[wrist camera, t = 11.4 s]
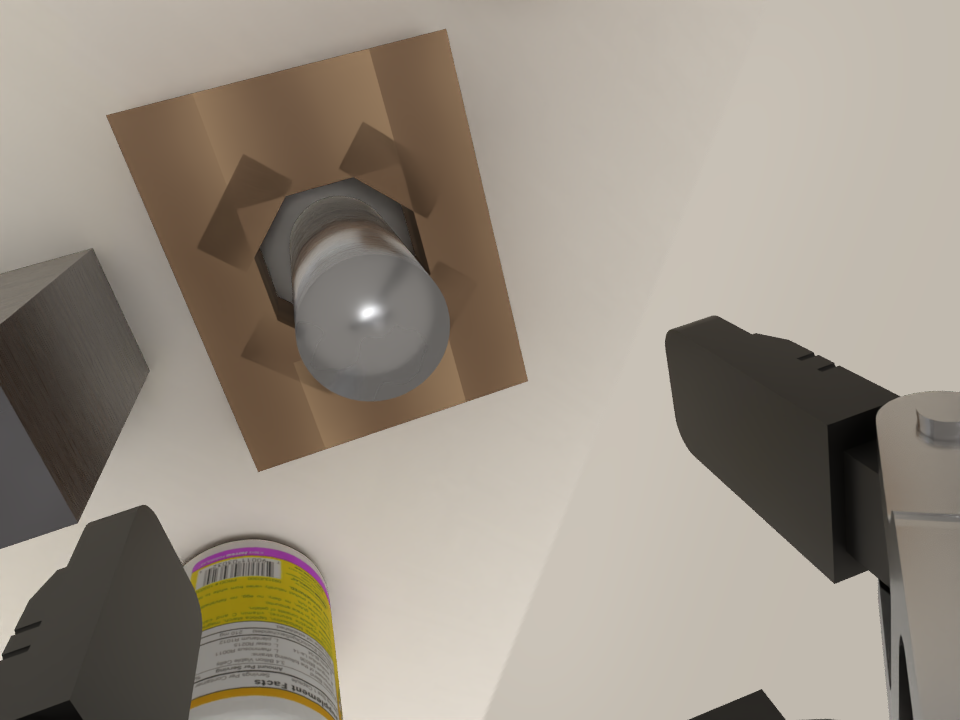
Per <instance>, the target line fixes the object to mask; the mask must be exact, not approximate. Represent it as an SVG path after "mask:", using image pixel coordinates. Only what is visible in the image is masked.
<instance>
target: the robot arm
mask: <svg viewBox="0 0 960 720" xmlns="http://www.w3.org/2000/svg"><path fill="white" fill-rule="evenodd" d="M665 347H666V355H667V362H668V369H669V376H670V383H671V390H672V397H673V404H674V411H675V417H676V422H677V426H678V429H679V432H680V434H681V437H682V439H683V441H684V443H685V444H686V446H687V448H688V449H689V451H690V452H691V453H692V454H693V455H694V456H695V457H696V458H697V459H698V460H699V461H700V462H702V464H704V465H705V466H706V467H707V468H708V469H709V470H710V471H711V472H712V473H713V474H714V475H716V476H717V477H718V478H719V479H720V480H721V481H722V482H723V483H724V484H725V485H727V486H728V487H729V488H730V489H731V490H732V491H733V492H734V493H735V494H736V495H738V496H739V497H740V498H741V499H742V500H743V501H744V502H745V503H746V504H747V505H748V506H750V507H751V508H752V509H753V510H754V511H755V512H756V513H757V514H758V515H759V516H761V517H762V518H763V519H764V520H765V521H766V522H767V523H768V524H769V525H770V526H772V527H773V528H774V529H775V530H776V531H777V532H778V533H779V534H780V535H781V536H783V537H784V538H785V539H786V540H787V541H788V542H789V543H790V544H791V545H792V546H794V547H795V548H796V549H797V550H798V551H799V552H800V553H801V554H802V555H804V557H806V558H807V559H808V560H809V561H810V562H811V563H812V564H813V565H814V566H815V567H817V568H818V569H819V570H820V571H821V572H822V573H823V574H824V575H825V576H827V577H828V578H829V579H830V580H831V581H832V582H833V583H834V584H835V583H838V582H840V581H843V580H845V579H848V578H850V577H853V576H855V575H858V574H860V573H863V572H865V571H868V570H869V571H870V572H871V573H872V574H874V575H875V576H876V577H877V578H878V603H879V613H880V624H881V634H882V645H883V655H884V666H885V676H886V687H887V697H888V708H889V718H890V720H960V392H953V391H952V392H951V391H928V392H919V393H913V394H909V395H904V396H901V397H900V396H898V395H896V394H894V393H892V392H890V391H889V390H887V389H884V388H883V387H881V386H878V385H877V384H875V383H873V382H871V381H869V380H867V379H865V378H863V377H861V376H859V375H857V374H855V373H853V372H851V371H849V370H847V369H845V368H843V367H841V366H837V367H836V366H835V365H834V363H833V362H831V361H829V360H827V359H825V358H823V357H821V356H819V355H817V356H815V355H814V353H813V352H812V351H809V350H808V349H806V348H804V347H802V346H800V345H798V344H796V343H794V342H792V341H790V340H786V339H781V338H776V337H772V336H767V335H762V334H757V333H756V334H750V333H748V332H746V331H745V330H743V329H741V328H739V327H737V326H735V325H733V324H731V323H730V322H728V321H726V320H724V319H722V318H720V317H718V316H710V317H707V318H704V319H701V320H698V321H695V322H692V323H690V324H686V325H683V326H680V327H677V328H674V329H671V330H669V331H668V332H667V334H666V339H665ZM14 631H15V635H13V636H11V638H10V640H9V642H8V644H7V646H6V648H5V650H4V652H3V654H2V657H3V660H2V661H0V720H188V719H189V712H190V706H191V700H192V693H193V687H194V681H195V674H196V668H197V662H198V655H199V649H200V643H201V636H202V614H201V609H200V604H199V601H198V597H197V594H196V592H195V589H194V587H193V585H192V583H191V581H190V579H189V577H188V576H187V574H186V572H185V570H184V568H183V566H182V564H181V562H180V560H179V558H178V556H177V554H176V552H175V550H174V549H173V547H172V545H171V543H170V541H169V539H168V537H167V535H166V533H165V531H164V529H163V527H162V525H161V523H160V522H159V520H158V518H157V516H156V515H155V513H154V512H153V511H152V510H151V509H150V508H149V507H148V506H146V505H141V506H138V507H135V508H132V509H129V510H126V511H123V512H120V513H117V514H114V515H111V516H108V517H105V518H102V519H99V520H96V521H93V522H90V523H88V524H87V525H86V527H85V528H84V531H83V533H82V535H81V537H80V539H79V541H78V544H77V546H76V548H75V550H74V552H73V555H72V557H71V559H70V561H69V563H68V565H67V567H65V568H62V569H59V570H57V571H56V572H55V573H54V574H53V575H52V577H51V578H50V579H49V580H48V581H47V582H46V583H45V584H44V585H43V586H42V587H41V588H40V589H39V591H38V592H37V593H36V594H35V595H34V596H33V597H32V598H31V599H30V600H29V602H28V604H27V606H26V608H25V610H24V612H23V614H22V616H21V618H20V620H19V622H18V624H17V626H16V628H15V630H14ZM689 720H785V718H784V717H783V716H782V714H781V713H780V712H779V711H778V710H777V708H776V707H775V706H774V704H773V703H772V702H771V701H770V699H769V698H768V697H767V696H766V694H765V693H764V692H763V690H762V689H761V690H759V691H756V692H754V693H752V694H749V695H747V696H744V697H742V698H740V699H737V700H735V701H733V702H730V703H728V704H725V705H723V706H721V707H718V708H716V709H713V710H711V711H709V712H706V713H704V714H701V715H699V716H696V717H694V718H692V719H689ZM812 720H831V719H812Z"/></svg>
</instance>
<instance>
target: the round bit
mask: <svg viewBox="0 0 960 720" xmlns="http://www.w3.org/2000/svg"><path fill="white" fill-rule="evenodd" d="M290 260H291V275H292V290H293V306H294V321H295V335H296V342H297V347H298V351H299V354H300V356H301V358H302V361H303V363H304V365H305V366H306V368H307V369H308V371H309V372H310V373H311V375H312V376H313V377H314V378H315V379H316V380H317V381H318V382H319V383H320V384H321V385H323V386H324V387H326V388H327V389H329V390H330V391H332V392H334V393H336V394H338V395H340V396H343V397H346V398H349V399H353V400H357V401H382V400H388V399H392V398H396V397H398V396H401V395H403V394H406V393H407V392H409V391H411V390H413V389H415V388H416V387H417V386H419V385H420V384H422V383H423V382H424V381H425V380H426V379H427V378H428V377H429V376H430V375H431V374H432V373H433V371H434V370H435V369H436V367H437V366H438V364H439V363H440V361H441V359H442V357H443V355H444V353H445V350H446V347H447V344H448V340H449V334H450V317H449V312H448V307H447V304H446V301H445V298H444V296H443V295H442V293H441V291H440V289H439V288H438V286H437V285H436V283H435V282H434V281H433V279H432V278H431V277H430V276H429V275H428V273H427V272H426V271H425V270H424V268H423V267H422V266H421V265H420V264H419V262H418V261H417V260H416V259H415V257H414V256H413V255H412V254H411V253H410V251H409V250H408V249H407V248H406V246H405V245H404V244H403V243H402V242H401V240H400V239H399V238H398V237H397V235H396V234H395V233H394V232H393V231H392V229H391V228H390V227H389V226H388V224H387V223H386V222H385V221H384V220H383V218H382V217H381V216H380V215H379V214H378V213H377V211H376V210H374V209H373V208H372V207H371V206H369V205H368V204H366V203H365V202H363V201H361V200H358V199H355V198H352V197H346V196H333V197H328V198H324V199H321V200H319V201H317V202H315V203H313V204H311V205H310V206H309V207H307V208H306V209H305V210H304V211H303V212H302V213H301V214H300V216H299V217H298V219H297V220H296V222H295V224H294V226H293V228H292V232H291V236H290Z"/></svg>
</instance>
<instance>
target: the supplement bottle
mask: <svg viewBox="0 0 960 720" xmlns="http://www.w3.org/2000/svg"><path fill="white" fill-rule="evenodd" d="M183 568H184V570H185V572H186V574H187V576H188V577H189V579H190V581H191V583H192V585H193V587H194V589H195V592H196V594H197V597H198V601H199V604H200V609H201V614H202V636H201V643H200V649H199V655H198V662H197V668H196V674H195V681H194V687H193V693H192V700H191V706H190V712H189V719H188V720H343V715H342V706H341V698H340V689H339V679H338V671H337V661H336V651H335V643H334V634H333V626H332V616H331V608H330V601H329V594H328V589H327V586H326V583H325V581H324V579H323V577H322V575H321V573H320V571H319V570H318V569H317V567H316V566H315V565H314V564H313V562H312V561H311V560H309V559H308V558H307V557H306V556H305V555H303V554H301V553H300V552H298V551H296V550H295V549H292V548H290V547H288V546H285V545H283V544H280V543H276V542H272V541H267V540H239V541H233V542H228V543H224V544H221V545H218V546H216V547H213V548H210V549H208V550H206V551H204V552H203V553H201V554H199V555H197V556H196V557H195V558H193V559H192V560H190V561H189V562H188V563H187V564H185V565H184V566H183Z"/></svg>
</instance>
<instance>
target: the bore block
mask: <svg viewBox="0 0 960 720" xmlns="http://www.w3.org/2000/svg"><path fill="white" fill-rule="evenodd" d="M106 116H107V119H108V121H109V123H110V126H111V128H112V130H113V133H114V135H115V137H116V140H117V142H118V144H119V147H120V149H121V151H122V154H123V156H124V158H125V161H126V163H127V165H128V168H129V170H130V172H131V175H132V177H133V179H134V182H135V184H136V187H137V189H138V191H139V194H140V196H141V198H142V201H143V203H144V205H145V208H146V210H147V212H148V215H149V217H150V219H151V222H152V224H153V226H154V229H155V231H156V233H157V236H158V238H159V240H160V243H161V245H162V247H163V250H164V252H165V255H166V257H167V259H168V262H169V264H170V266H171V269H172V271H173V273H174V276H175V278H176V280H177V283H178V285H179V287H180V290H181V292H182V294H183V297H184V299H185V301H186V304H187V306H188V308H189V311H190V313H191V316H192V318H193V320H194V323H195V325H196V327H197V330H198V332H199V334H200V337H201V339H202V341H203V344H204V346H205V348H206V351H207V353H208V355H209V358H210V360H211V362H212V365H213V367H214V369H215V372H216V374H217V376H218V379H219V381H220V384H221V386H222V388H223V391H224V393H225V395H226V398H227V400H228V402H229V405H230V407H231V409H232V412H233V414H234V416H235V419H236V421H237V423H238V426H239V428H240V430H241V433H242V435H243V437H244V440H245V442H246V444H247V447H248V449H249V452H250V454H251V456H252V459H253V461H254V463H255V466H256V468H257V470H258V472H260V471H263V470H266V469H269V468H272V467H275V466H277V465H280V464H283V463H286V462H289V461H292V460H295V459H298V458H301V457H304V456H307V455H310V454H313V453H316V452H319V451H322V450H325V449H328V448H331V447H334V446H337V445H340V444H343V443H346V442H349V441H352V440H355V439H358V438H360V437H363V436H366V435H369V434H372V433H375V432H378V431H381V430H384V429H387V428H390V427H393V426H396V425H399V424H402V423H405V422H408V421H411V420H414V419H417V418H420V417H423V416H426V415H429V414H432V413H435V412H438V411H441V410H443V409H446V408H449V407H452V406H455V405H458V404H461V403H464V402H467V401H470V400H473V399H476V398H479V397H482V396H485V395H488V394H491V393H494V392H497V391H500V390H503V389H506V388H509V387H512V386H515V385H518V384H521V383H524V382H526V381H528V379H527V375H526V371H525V366H524V362H523V358H522V353H521V349H520V345H519V340H518V336H517V332H516V328H515V323H514V319H513V315H512V310H511V306H510V302H509V297H508V293H507V289H506V285H505V280H504V276H503V272H502V267H501V263H500V259H499V254H498V250H497V246H496V242H495V237H494V233H493V229H492V224H491V220H490V216H489V211H488V207H487V203H486V199H485V194H484V190H483V186H482V181H481V177H480V173H479V168H478V164H477V160H476V156H475V151H474V147H473V143H472V138H471V134H470V130H469V125H468V121H467V117H466V113H465V108H464V104H463V100H462V95H461V91H460V87H459V82H458V78H457V74H456V70H455V65H454V61H453V57H452V52H451V48H450V44H449V39H448V35H447V31H446V29H444V30H440V31H436V32H432V33H428V34H424V35H420V36H416V37H412V38H408V39H404V40H400V41H397V42H393V43H389V44H385V45H381V46H377V47H373V48H369V49H365V50H361V51H357V52H353V53H349V54H345V55H342V56H338V57H334V58H330V59H326V60H322V61H318V62H314V63H310V64H306V65H302V66H298V67H294V68H290V69H286V70H283V71H279V72H275V73H271V74H267V75H263V76H259V77H255V78H251V79H247V80H243V81H239V82H235V83H231V84H228V85H224V86H220V87H216V88H212V89H208V90H204V91H200V92H196V93H192V94H188V95H184V96H180V97H176V98H173V99H169V100H165V101H161V102H157V103H153V104H149V105H145V106H141V107H137V108H133V109H129V110H125V111H121V112H118V113H114V114H110V115H106ZM352 177H354V178H356V179H357V180H359V181H361V182H363V183H365V184H366V185H368V186H370V187H372V188H373V189H375V190H377V191H379V192H380V193H382V194H384V195H386V196H387V197H389V198H391V199H393V200H394V201H396V202H398V203H400V204H401V206H402V210H403V213H404V217H405V220H406V224H407V228H408V231H409V235H410V238H411V242H412V245H413V249H414V252H415V259H416V260H417V261H418V262H419V264H420V265H421V266H422V267H423V268H424V270H425V271H426V272H427V273H428V275H429V276H430V277H431V278H432V279H433V281H434V282H435V283H436V285H437V286H438V288H439V289H440V291H441V293H442V295H443V296H444V298H445V301H446V304H447V307H448V312H449V317H450V334H449V340H448V344H447V347H446V350H445V353H444V355H443V357H442V359H441V361H440V363H439V364H438V366H437V367H436V369H435V370H434V371H433V373H432V374H431V375H430V376H429V377H428V378H427V379H426V380H425V381H424V382H423V383H422V384H420V385H419V386H417V387H416V388H415V389H413V390H411V391H409V392H407V393H406V394H403V395H401V396H398V397H396V398H392V399H388V400H382V401H357V400H353V399H349V398H346V397H343V396H340V395H338V394H336V393H334V392H332V391H330V390H329V389H327V388H326V387H324V386H323V385H321V384H320V383H319V382H318V381H317V380H316V379H315V378H314V377H313V376H312V375H311V373H310V372H309V371H308V369H307V368H306V366H305V365H304V363H303V361H302V358H301V356H300V354H299V351H298V347H297V342H296V335H295V321H294V306H293V304H292V303H290V302H288V301H286V300H284V299H281V298H279V297H278V296H277V293H276V291H275V288H274V285H273V282H272V280H271V277H270V274H269V272H268V269H267V266H266V264H265V261H264V258H263V255H262V253H261V250H260V245H261V243H262V241H263V240H264V238H265V236H266V234H267V232H268V230H269V228H270V226H271V224H272V222H273V220H274V218H275V216H276V214H277V212H278V210H279V208H280V206H281V204H282V202H283V200H284V198H285V197H286V196H288V195H291V194H295V193H299V192H302V191H306V190H309V189H313V188H316V187H320V186H324V185H327V184H331V183H334V182H338V181H341V180H345V179H348V178H352Z"/></svg>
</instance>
